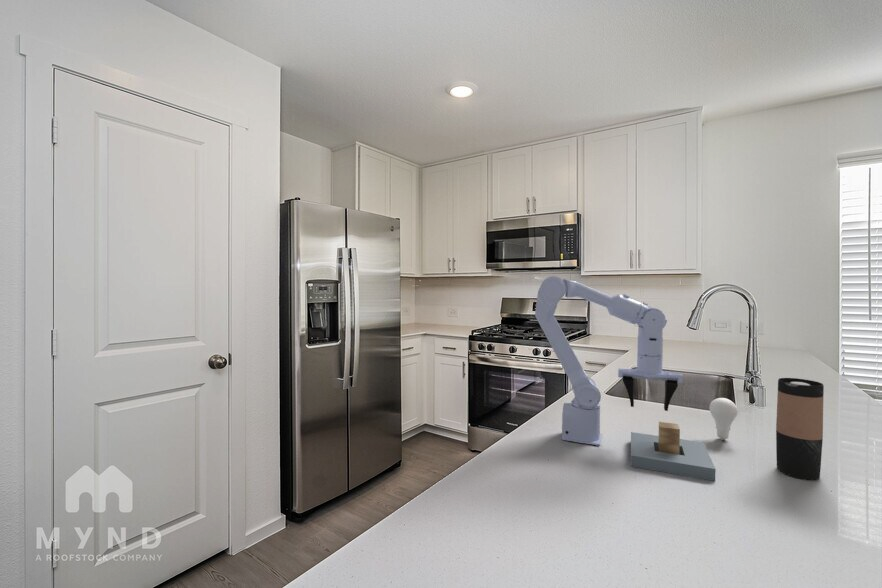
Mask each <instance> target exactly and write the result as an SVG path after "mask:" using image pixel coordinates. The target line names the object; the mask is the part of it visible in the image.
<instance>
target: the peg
mask: <svg viewBox="0 0 882 588" xmlns="http://www.w3.org/2000/svg"><path fill="white" fill-rule="evenodd" d="M680 434H681V431H680V425H679V424H678V423H672V422H665V421H658V436H659V440H658V452H665V453H671V454H678V455H679V444H680V439H681V438H680V436H681V435H680Z"/></svg>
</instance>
